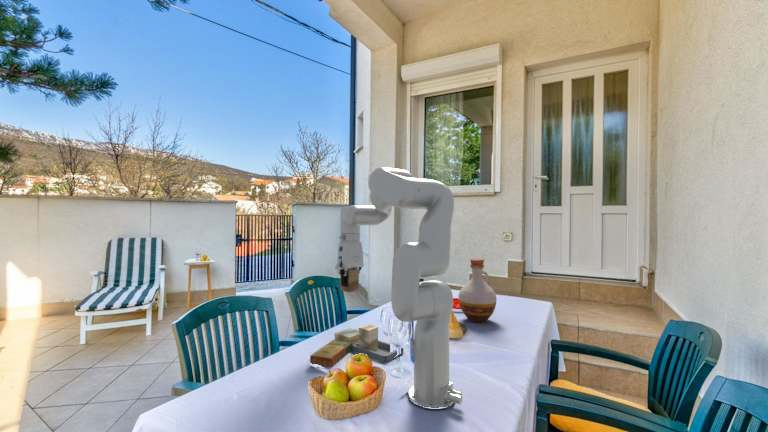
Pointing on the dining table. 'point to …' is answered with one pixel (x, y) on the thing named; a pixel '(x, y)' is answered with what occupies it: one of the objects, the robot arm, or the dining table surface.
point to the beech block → (368, 337)
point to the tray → (377, 351)
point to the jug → (477, 294)
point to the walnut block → (351, 280)
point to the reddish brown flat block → (331, 353)
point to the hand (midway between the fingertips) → (349, 284)
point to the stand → (348, 335)
